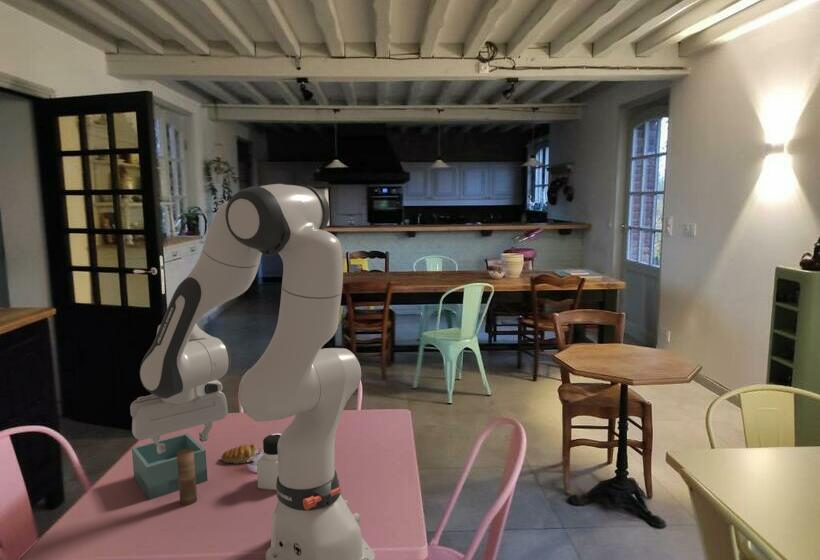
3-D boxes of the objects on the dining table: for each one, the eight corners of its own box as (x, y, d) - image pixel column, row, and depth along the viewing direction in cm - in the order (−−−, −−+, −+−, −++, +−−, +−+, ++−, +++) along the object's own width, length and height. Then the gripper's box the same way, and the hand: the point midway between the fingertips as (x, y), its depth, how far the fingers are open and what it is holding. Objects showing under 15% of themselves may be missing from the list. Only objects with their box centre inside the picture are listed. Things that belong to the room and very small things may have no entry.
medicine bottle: (284, 491, 129) (282, 444, 127) (257, 488, 130) (255, 441, 129) (297, 477, 136) (295, 431, 134) (270, 474, 137) (268, 429, 136)
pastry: (220, 467, 142) (220, 453, 141) (222, 456, 148) (221, 443, 148) (257, 462, 144) (257, 449, 144) (258, 452, 151) (257, 439, 150)
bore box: (207, 480, 135) (205, 450, 134) (149, 499, 126) (146, 467, 125) (189, 461, 145) (187, 433, 144) (134, 478, 136) (131, 447, 135)
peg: (199, 501, 125) (196, 452, 123) (183, 507, 123) (179, 457, 121) (193, 495, 128) (190, 447, 126) (178, 500, 125) (174, 451, 124)
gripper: (133, 403, 113) (137, 465, 115) (229, 382, 126) (231, 438, 128) (125, 395, 117) (130, 454, 119) (218, 375, 130) (221, 429, 133)
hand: (183, 446), depth 124 cm, fingers open, 8 cm apart
